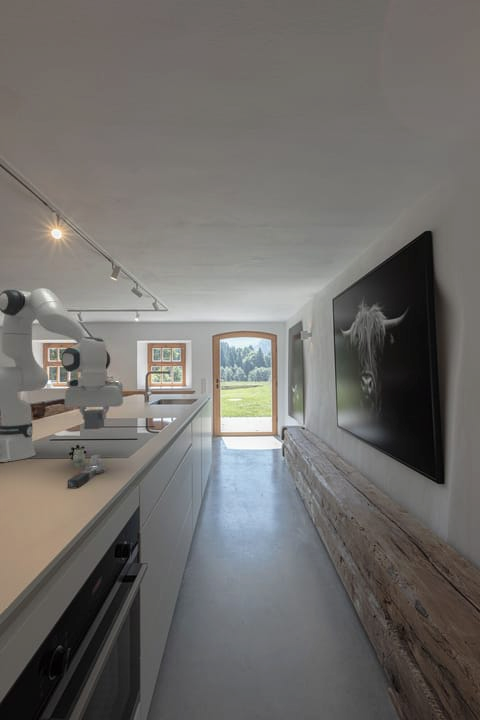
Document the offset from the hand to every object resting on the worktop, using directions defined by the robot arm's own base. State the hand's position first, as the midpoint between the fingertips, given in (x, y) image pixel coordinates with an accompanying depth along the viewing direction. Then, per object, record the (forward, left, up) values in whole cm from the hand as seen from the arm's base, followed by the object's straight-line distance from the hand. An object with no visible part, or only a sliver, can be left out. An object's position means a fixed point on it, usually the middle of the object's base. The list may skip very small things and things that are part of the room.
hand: (94, 419), depth 128 cm
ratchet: (0, -6, -19) cm, 20 cm away
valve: (-12, +12, -20) cm, 26 cm away
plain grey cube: (0, 0, -3) cm, 3 cm away
